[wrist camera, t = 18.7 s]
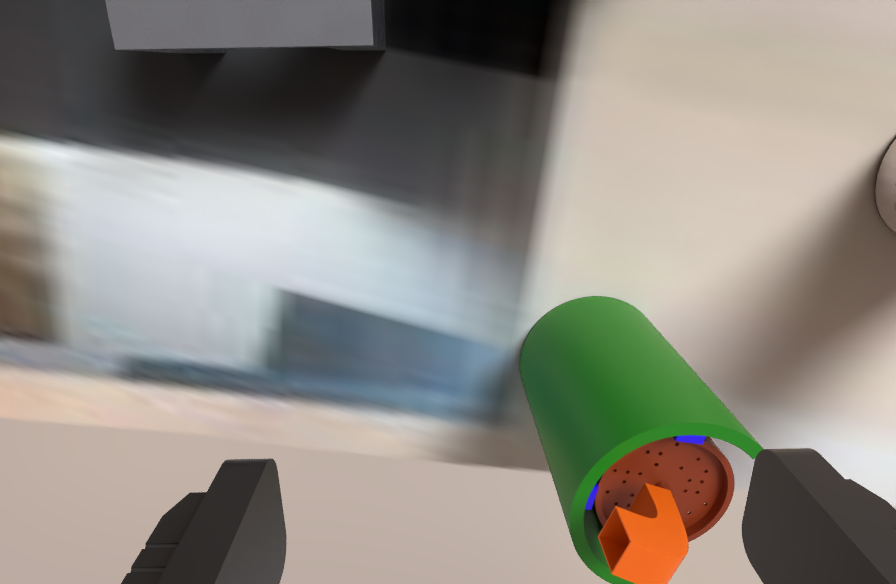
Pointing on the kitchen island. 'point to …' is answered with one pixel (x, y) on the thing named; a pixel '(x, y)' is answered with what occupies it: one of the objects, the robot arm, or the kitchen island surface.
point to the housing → (246, 25)
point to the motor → (627, 438)
